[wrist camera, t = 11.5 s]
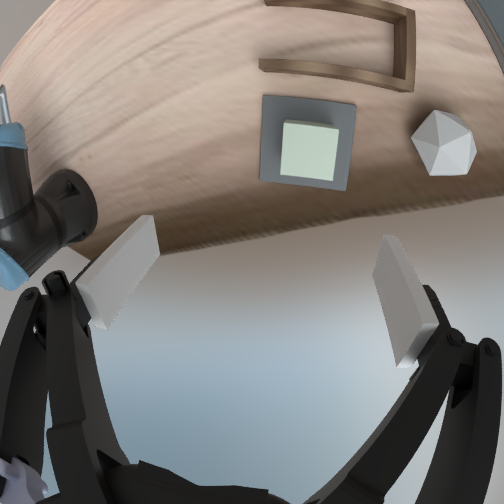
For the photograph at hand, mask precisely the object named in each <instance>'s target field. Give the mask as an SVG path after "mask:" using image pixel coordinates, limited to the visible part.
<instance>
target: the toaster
mask: <svg viewBox="0 0 504 504" xmlns="http://www.w3.org/2000/svg"><path fill="white" fill-rule="evenodd" d="M465 2H466V3H467V5H468V6H469V8H470V9H471V11H472V13H473V14H474V16H475V17H476V19H477V21H478V22H479V24H480V26H481V28H482V29H483V31H484V33H485V35H486V37H487V39H488V40H489V42H490V44H491V46H492V48H493V50H494V53H495V55H496V57H497V59H498V61H499V63H500V66H501V68H502V70H503V73H504V0H465Z"/></svg>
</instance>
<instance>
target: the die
mask: <svg viewBox="0 0 504 504" xmlns="http://www.w3.org/2000/svg"><path fill="white" fill-rule="evenodd" d="M411 139H412V141H413V143H414V145H415V147H416V148H417V150H418V152H419V154H420V156H421V158H422V160H423V162H424V164H425V166H426V168H427V171H428V173H429V175H463V174H467V173H468V171H469V168H470V166H471V164H472V162H473V160H474V157H475V155H476V153H477V151H476V147H475V143H474V139H473V136H472V132H471V131H470V129H469V128H468V127H467V125H466V124H465V123H464V122H463V120H462V119H461V118H460V117H459V115H455V114H451V113H447V112H443V111H439V110H433V112H432V113H431V114H430V115H429V116H428V117H427V118H426V119H425V120H424V121H423V122H422V124H421V125H420V126H419V128H418V129H417V130H416V131H415V133H414V134H413V135H412V137H411Z"/></svg>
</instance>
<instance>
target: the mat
mask: <svg viewBox="0 0 504 504" xmlns="http://www.w3.org/2000/svg"><path fill="white" fill-rule="evenodd" d="M356 108H357V106H355V105H349V104H343V103H337V102H330V101H323V100H315V99H306V98H296V97H284V96H268V95H263V109H262V134H261V158H260V181H265V182H276V183H285V184H295V185H303V186H311V187H319V188H327V189H334V190H341V191H346V186H347V180H348V173H349V166H350V159H351V152H352V144H353V136H354V127H355V118H356ZM286 119H292V120H302V121H310V122H318V123H326V124H333V125H334V126H335V127H337V128H338V129H339V135H338V144H337V152H336V160H335V167H334V175H333V181H329V180H322V179H315V178H307V177H299V176H290V175H280V171H281V157H282V142H283V127H284V122H285V121H286Z"/></svg>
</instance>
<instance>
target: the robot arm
mask: <svg viewBox="0 0 504 504" xmlns="http://www.w3.org/2000/svg"><path fill="white" fill-rule="evenodd" d="M27 150H28V147H27V146H26V140H25V131H24V127H23V126H22V125H21V124H20V123H17V122H14V123H7V124H2V125H0V286H1V287H3V288H4V289H6V290H9V291H13V290H16V289H17V288H18V287H20V286H21V285H22V284H23V283H24V282H25V281H28V280H29V278H30V277H31V276H32V275H33V274H34V273H35V271H37V270H38V269H39V268H40V267H41V266H42V265H43V264H44V263H45V262H46V261H47V260H48V259H49V258H51V257H52V256H53V255H54V254H55V253H56V252H57V251H58V250H59V249H61V248H62V247H65V246H68V245H71V244H74V243H77V242H80V241H82V240H84V239H85V238H87V237H88V236H89V235H90V234H91V233H92V232H93V231H94V229H95V227H96V224H97V207H96V202H95V199H94V196H93V194H92V192H91V190H90V188H89V186H88V185H87V183H86V182H85V181H84V180H83V179H82V178H81V177H80V176H79V175H78V174H76V173H75V172H73V171H70V170H61V171H58V172H56V173H54V174H53V175H51V176H50V177H49V178H48V179H47V180H46V181H45V182H44V183H43V184H42V186H41V187H40V188H39V189H38V190H37V192H36V193H35V194H34V195H33V190H32V184H31V178H30V171H29V163H28V154H27ZM159 256H160V252H159V247H158V241H157V236H156V230H155V224H154V218H153V215H142V216H141V217H139V218H138V219H137V220H136V221H135V222H134V223H133V224H132V225H131V226H130V227H129V228H128V229H127V230H126V231H125V232H124V233H123V234H122V235H120V236H119V237H118V238H117V239H116V240H115V241H114V242H113V243H112V244H111V245H110V246H109V247H108V248H107V249H106V250H105V251H104V252H103V253H102V254H100V255H98V256H97V257H95V258H93V259H92V260H91V261H90V262H89V264H88V265H87V266H86V267H85V268H84V269H83V271H81V272H80V273H79V274H78V275H77V276H76V277H75V278H74V279H73V281H72V282H71V283H70V284H69V282H68V280H67V277H66V275H65V273H64V272H63V271H61V270H58V271H53V272H51V273H49V274H48V275H47V276H46V277H45V278H44V279H43V280H42V285H43V287H44V289H45V291H46V293H47V295H41V293H40V291H39V289H38V288H37V287H31V288H28V289H26V290H25V291H24V292H23V293H22V294H21V295H20V297H19V299H18V302H17V304H16V306H15V309H14V311H13V313H12V316H11V319H10V321H9V323H8V326H7V328H6V331H5V334H4V337H3V339H2V342H1V345H0V502H1V503H2V504H290V503H289V502H287V501H285V500H284V499H282V498H280V497H277V496H275V495H272V494H269V493H268V490H267V489H257V488H249V487H242V486H235V485H234V486H233V485H232V486H199V485H196V484H194V483H192V482H190V481H188V480H186V479H184V478H182V477H180V476H178V475H176V474H174V473H173V472H171V471H170V470H167V469H164V468H161V467H158V466H155V465H152V464H149V463H146V462H144V461H141V460H139V463H138V464H130V463H129V461H128V459H127V457H126V455H125V454H124V452H123V451H122V450H121V448H120V446H119V444H118V441H117V438H116V435H115V433H114V430H113V426H112V423H111V420H110V417H109V413H108V410H107V407H106V403H105V399H104V395H103V391H102V387H101V383H100V379H99V374H98V370H97V365H96V360H95V355H94V349H93V343H92V338H91V331H90V327H89V325H88V322H89V321H90V319H92V321H93V323H94V325H95V327H98V328H101V329H105V330H108V328H109V327H110V325H111V323H112V322H113V321H114V319H115V318H116V316H117V315H118V313H119V312H120V310H121V309H122V307H123V306H124V304H125V303H126V302H127V300H128V299H129V297H130V296H131V294H132V293H133V292H134V290H135V289H136V287H137V286H138V284H139V283H140V282H141V280H142V279H143V277H144V276H145V275H146V273H147V272H148V270H149V269H150V268H151V266H152V265H153V264H154V262H155V261H156V260H157V258H158V257H159ZM373 278H374V281H375V285H376V288H377V292H378V295H379V298H380V302H381V305H382V309H383V313H384V316H385V320H386V324H387V328H388V331H389V336H390V340H391V344H392V348H393V353H394V357H395V362H396V367H411V366H412V365H413V364H414V362H415V361H416V359H418V363H419V367H418V368H417V369H416V371H415V372H414V373H413V375H412V376H411V378H410V379H409V380H410V381H409V382H408V384H407V386H406V387H405V389H404V390H403V392H402V394H401V395H400V396H399V398H398V399H397V401H396V402H395V404H394V405H393V407H392V408H391V410H390V411H389V412H388V414H387V415H386V416H385V418H384V419H383V420H382V422H381V423H380V424H379V426H378V427H377V428H376V429H375V431H374V432H373V433H372V435H371V436H370V437H369V438H368V439H367V441H366V442H365V443H364V444H363V445H362V447H361V448H360V449H359V450H358V451H357V453H356V454H355V455H354V456H353V457H352V458H351V459H350V460H349V461H348V462H347V464H346V465H345V466H344V467H343V468H342V469H341V470H340V471H339V472H338V473H337V474H336V475H335V476H334V477H333V478H332V479H331V480H330V481H329V482H328V483H327V484H326V485H325V486H324V487H322V488H321V489H320V490H319V491H317V492H316V493H315V494H314V495H312V496H311V497H310V498H309V499H308V500H307V501H305V502H304V503H303V504H383V503H384V497H385V495H386V493H387V492H388V490H389V489H390V488H391V487H392V485H393V484H394V483H395V481H396V480H397V479H398V477H399V476H400V475H401V473H402V472H403V470H404V469H405V468H406V466H407V465H408V463H409V462H410V460H411V459H412V457H413V456H414V454H415V452H416V451H417V449H418V448H419V446H420V444H421V443H422V441H423V439H424V438H425V436H426V434H427V433H428V431H429V429H430V427H431V425H432V423H433V422H434V420H435V418H436V416H437V414H438V412H439V410H440V408H441V406H442V404H443V402H444V400H445V398H446V395H447V393H448V391H449V395H448V400H447V405H446V410H445V415H444V419H443V423H442V428H441V431H440V435H439V439H438V442H437V446H436V449H435V452H434V455H433V459H432V461H431V464H430V467H429V470H428V473H427V476H426V478H425V481H424V483H423V486H422V488H421V491H420V493H419V495H418V498H417V500H416V502H415V504H483V502H484V499H485V495H486V492H487V489H488V485H489V482H490V478H491V473H492V469H493V464H494V459H495V454H496V448H497V442H498V435H499V426H500V416H501V400H502V360H501V350H500V347H499V346H498V344H497V343H496V342H495V341H494V340H492V339H491V338H483V339H482V340H481V341H480V343H479V344H478V345H476V344H473V343H469V342H466V340H465V337H464V336H463V334H462V333H461V332H460V331H458V330H457V329H455V328H451V326H450V323H449V321H448V319H447V316H446V314H445V312H444V310H443V308H442V307H441V304H440V302H439V299H438V297H437V295H436V293H435V292H434V291H433V290H432V289H431V288H430V286H429V285H422V284H421V282H420V280H419V278H418V276H417V274H416V272H415V270H414V268H413V266H412V264H411V262H410V260H409V258H408V257H407V255H406V253H405V251H404V249H403V247H402V245H401V244H400V242H399V240H398V238H397V237H396V236H393V235H385V234H384V236H383V240H382V244H381V247H380V251H379V254H378V258H377V261H376V265H375V268H374V271H373ZM33 327H35V329H36V332H35V333H34V331H33ZM48 391H49V401H50V408H51V416H52V428H49V429H47V432H46V436H47V443H48V448H49V453H50V458H51V462H52V466H53V470H54V474H55V478H56V481H57V485H58V488H59V491H60V493H58V494H55V495H53V496H50V497H48V498H44V495H43V494H46V493H47V492H48V487H47V484H46V483H45V482H44V481H42V479H41V473H42V467H43V455H44V427H45V413H46V403H47V394H48Z"/></svg>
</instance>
